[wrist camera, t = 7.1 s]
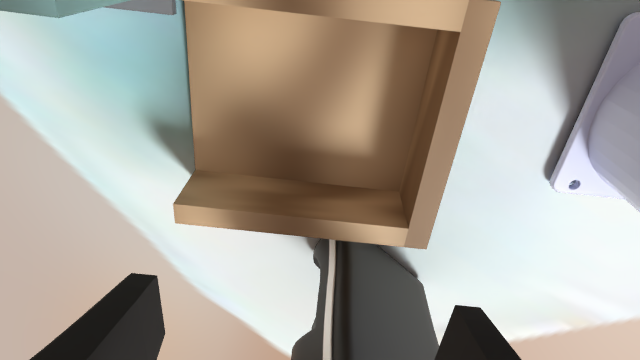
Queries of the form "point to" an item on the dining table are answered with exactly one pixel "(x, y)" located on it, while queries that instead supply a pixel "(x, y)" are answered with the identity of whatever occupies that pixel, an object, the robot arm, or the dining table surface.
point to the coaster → (148, 6)
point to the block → (54, 6)
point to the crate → (329, 113)
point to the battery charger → (366, 308)
